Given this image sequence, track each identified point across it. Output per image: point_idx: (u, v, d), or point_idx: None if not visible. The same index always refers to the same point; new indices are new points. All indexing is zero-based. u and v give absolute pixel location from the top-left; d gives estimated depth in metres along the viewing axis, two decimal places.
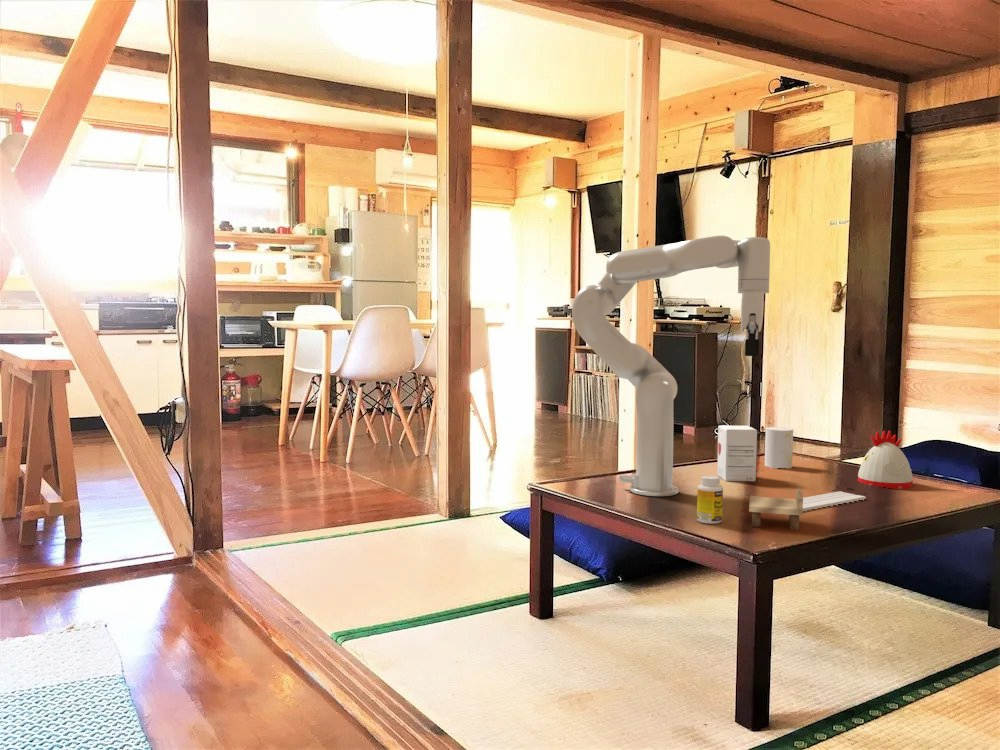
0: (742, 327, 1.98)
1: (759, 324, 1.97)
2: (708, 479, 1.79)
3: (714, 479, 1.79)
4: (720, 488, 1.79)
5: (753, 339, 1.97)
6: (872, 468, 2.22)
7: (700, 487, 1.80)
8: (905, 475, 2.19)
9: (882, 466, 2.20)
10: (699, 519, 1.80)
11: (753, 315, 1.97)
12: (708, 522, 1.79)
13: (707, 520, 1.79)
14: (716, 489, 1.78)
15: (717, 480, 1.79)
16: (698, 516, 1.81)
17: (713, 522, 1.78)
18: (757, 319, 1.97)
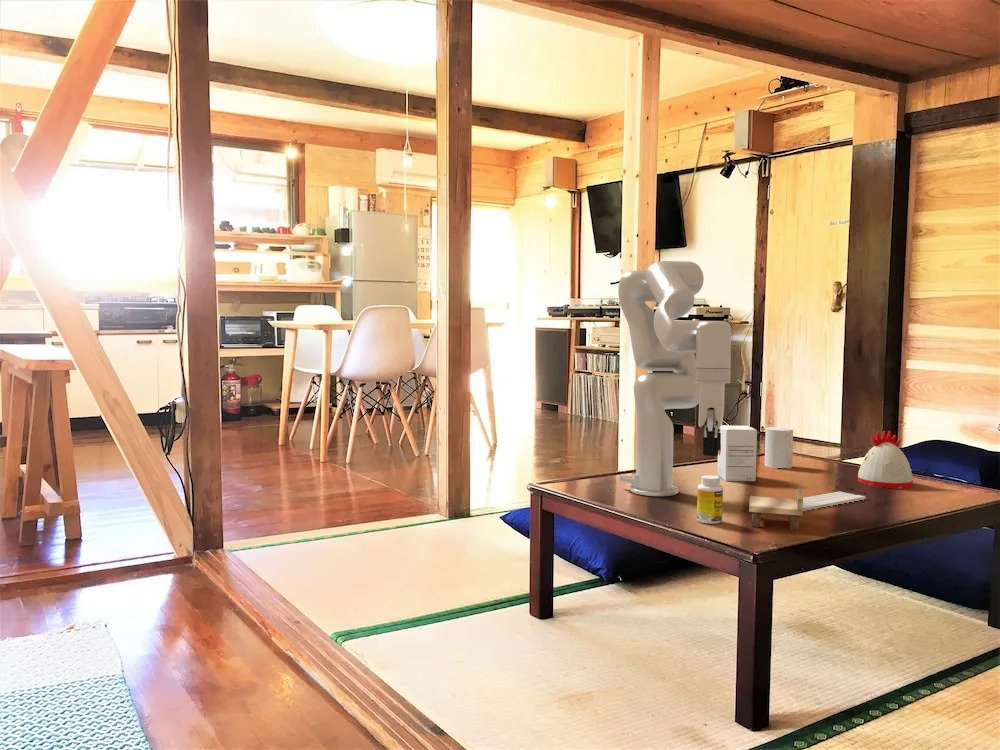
0: (700, 423, 1.75)
1: (719, 420, 1.74)
2: (708, 479, 1.79)
3: (714, 479, 1.79)
4: (720, 488, 1.79)
5: (712, 437, 1.74)
6: (872, 468, 2.22)
7: (700, 487, 1.80)
8: (905, 475, 2.19)
9: (882, 466, 2.20)
10: (699, 519, 1.80)
11: (712, 410, 1.74)
12: (708, 522, 1.79)
13: (707, 520, 1.79)
14: (716, 489, 1.78)
15: (717, 480, 1.79)
16: (698, 516, 1.81)
17: (713, 522, 1.78)
18: (716, 414, 1.74)
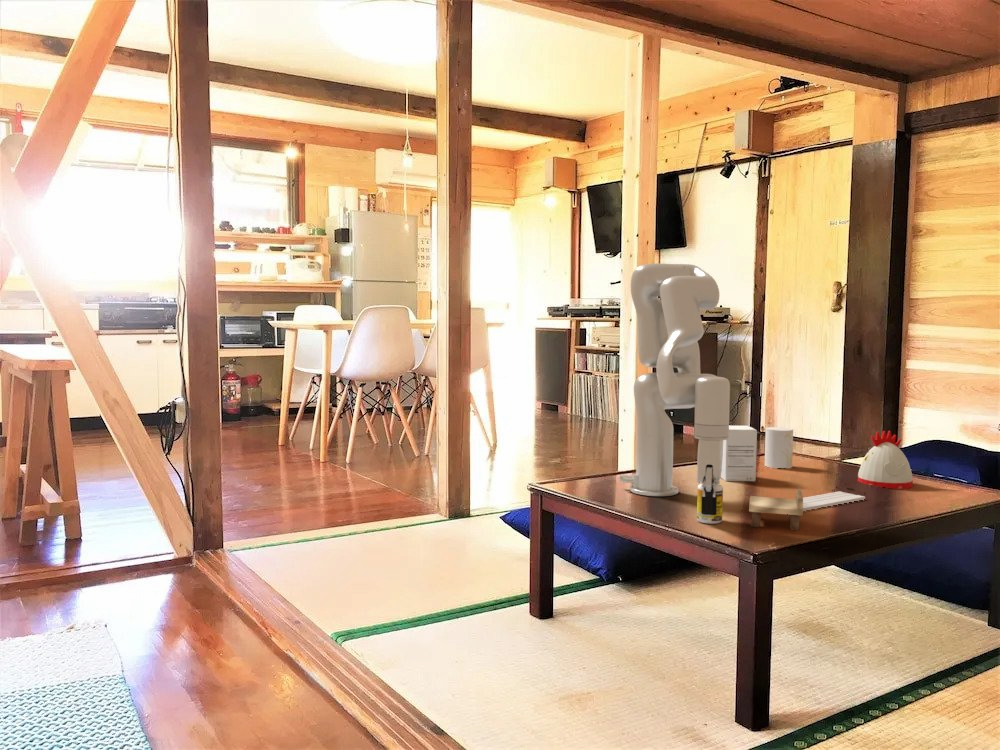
0: (698, 479, 1.77)
1: (717, 477, 1.75)
2: None
3: None
4: (720, 488, 1.79)
5: (710, 497, 1.77)
6: (872, 469, 2.22)
7: (700, 487, 1.80)
8: (905, 475, 2.19)
9: (882, 466, 2.20)
10: (699, 519, 1.80)
11: (710, 470, 1.75)
12: (708, 522, 1.79)
13: (707, 520, 1.79)
14: (716, 489, 1.78)
15: None
16: (698, 516, 1.81)
17: (713, 522, 1.78)
18: (714, 471, 1.75)
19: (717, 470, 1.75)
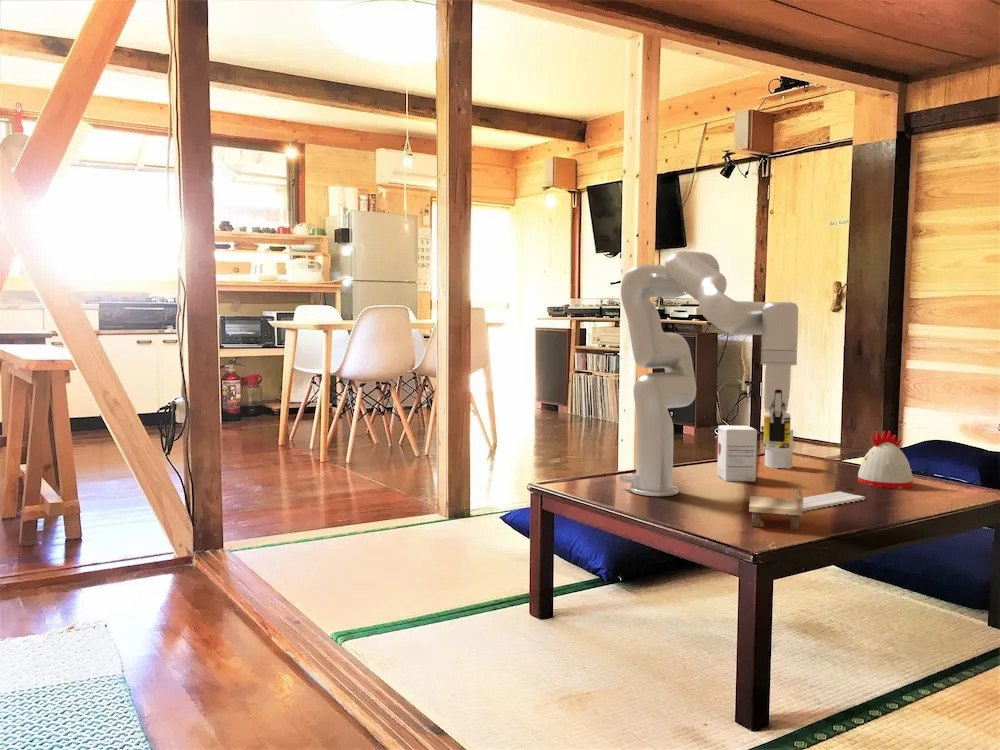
0: (766, 405, 1.74)
1: (786, 402, 1.73)
2: None
3: (782, 406, 1.76)
4: (788, 415, 1.76)
5: (779, 423, 1.74)
6: (872, 469, 2.22)
7: (767, 414, 1.77)
8: (905, 475, 2.19)
9: (882, 466, 2.20)
10: (766, 447, 1.78)
11: (779, 395, 1.73)
12: (775, 449, 1.76)
13: (775, 447, 1.76)
14: (784, 416, 1.76)
15: None
16: (765, 443, 1.78)
17: (781, 449, 1.76)
18: (784, 396, 1.73)
19: (786, 395, 1.73)
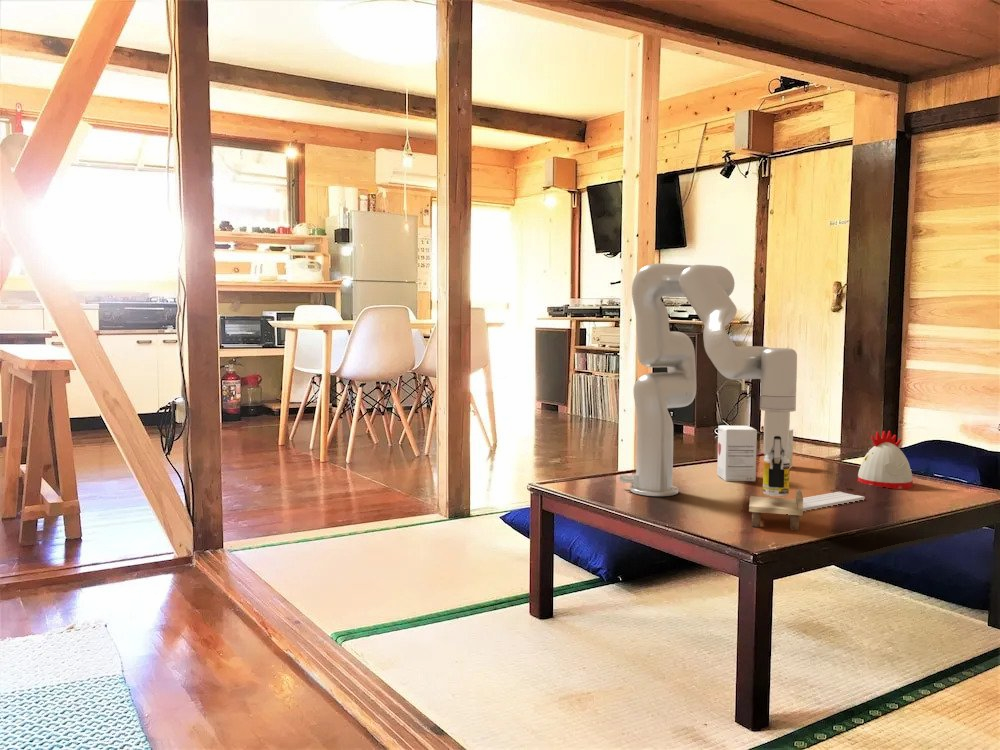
0: (765, 451, 1.75)
1: (785, 448, 1.73)
2: None
3: None
4: (787, 460, 1.77)
5: (778, 469, 1.75)
6: (872, 468, 2.22)
7: (767, 459, 1.78)
8: (905, 475, 2.19)
9: (882, 466, 2.20)
10: (766, 492, 1.78)
11: (778, 441, 1.73)
12: (775, 495, 1.77)
13: (774, 493, 1.77)
14: (784, 461, 1.76)
15: None
16: (764, 489, 1.79)
17: (780, 495, 1.76)
18: (783, 443, 1.73)
19: (785, 442, 1.73)
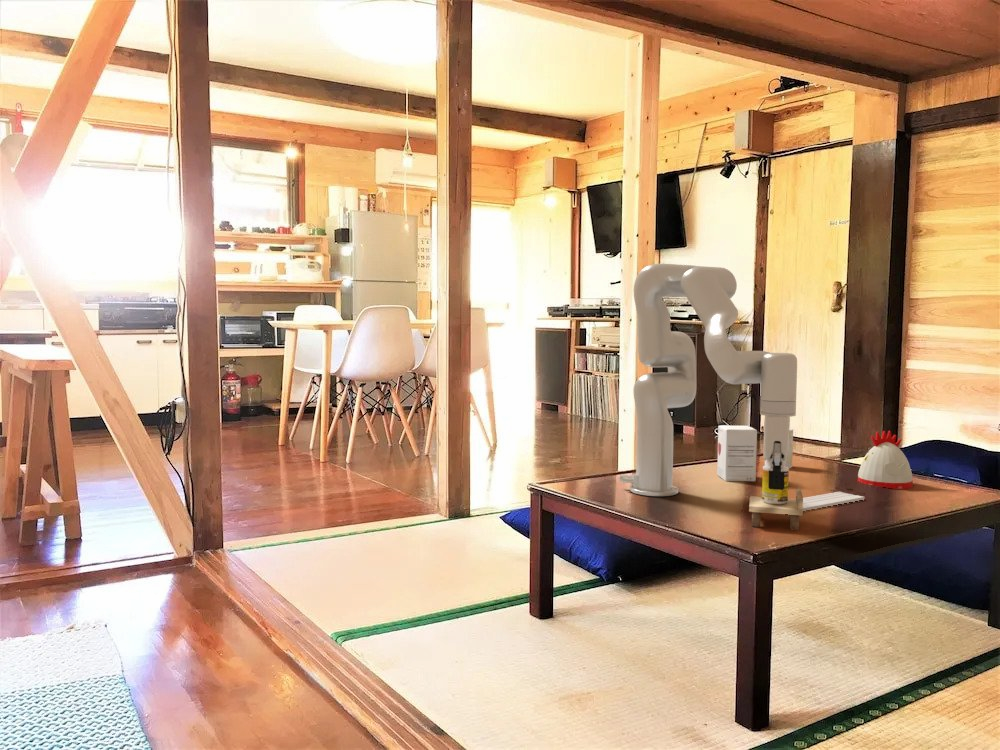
0: (765, 456, 1.75)
1: (785, 453, 1.73)
2: None
3: None
4: (786, 468, 1.77)
5: (778, 471, 1.73)
6: (872, 468, 2.22)
7: (766, 467, 1.78)
8: (905, 475, 2.19)
9: (882, 466, 2.20)
10: (765, 500, 1.79)
11: (778, 444, 1.73)
12: (774, 503, 1.77)
13: (773, 501, 1.77)
14: (783, 469, 1.77)
15: None
16: (763, 496, 1.79)
17: (779, 503, 1.77)
18: (783, 448, 1.73)
19: (785, 447, 1.73)
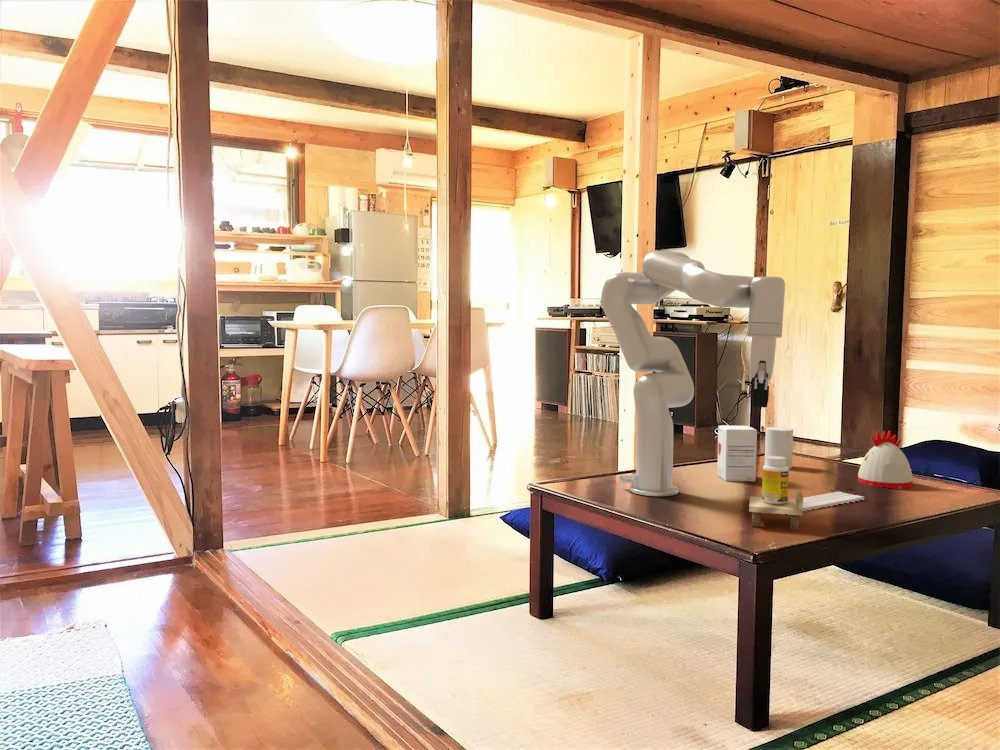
0: (750, 375, 1.81)
1: (769, 373, 1.80)
2: (774, 459, 1.77)
3: (780, 459, 1.77)
4: (786, 468, 1.77)
5: (762, 389, 1.80)
6: (872, 469, 2.22)
7: (766, 467, 1.78)
8: (905, 475, 2.19)
9: (882, 466, 2.20)
10: (765, 500, 1.79)
11: (763, 363, 1.80)
12: (774, 503, 1.77)
13: (773, 501, 1.77)
14: (783, 469, 1.77)
15: (783, 460, 1.77)
16: (763, 496, 1.79)
17: (779, 503, 1.77)
18: (767, 367, 1.80)
19: (770, 366, 1.80)
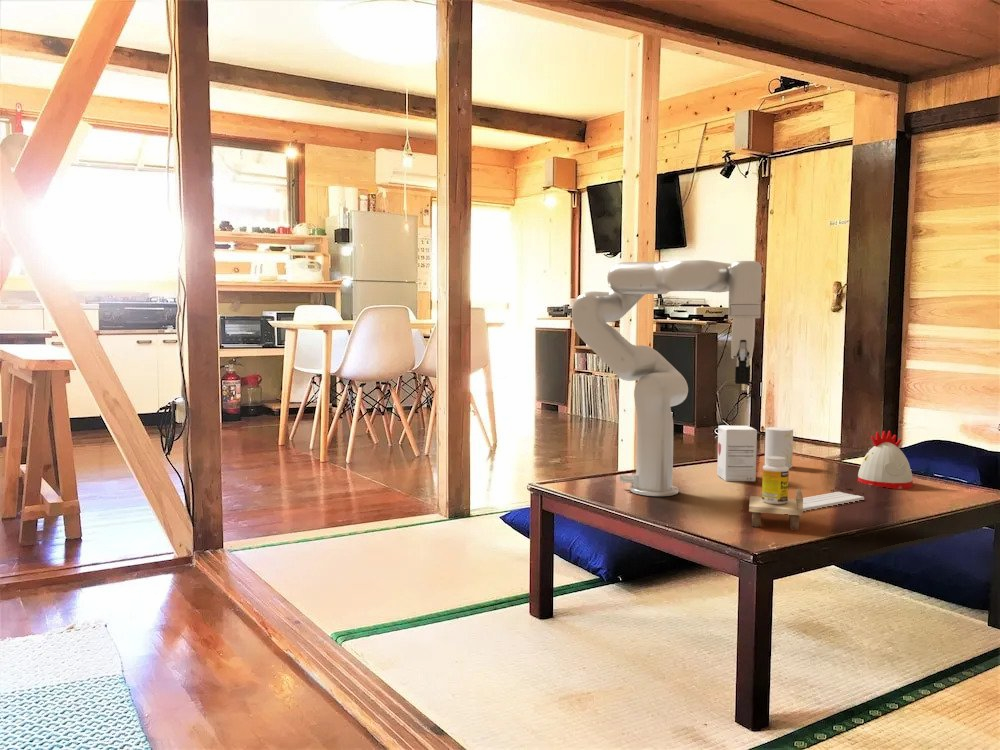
0: (732, 354, 1.92)
1: (750, 351, 1.91)
2: (774, 459, 1.77)
3: (780, 459, 1.77)
4: (786, 468, 1.77)
5: (744, 366, 1.90)
6: (872, 468, 2.22)
7: (766, 467, 1.78)
8: (905, 475, 2.19)
9: (882, 466, 2.20)
10: (765, 500, 1.79)
11: (744, 342, 1.90)
12: (774, 503, 1.77)
13: (773, 501, 1.77)
14: (783, 469, 1.77)
15: (783, 460, 1.77)
16: (763, 496, 1.79)
17: (779, 503, 1.77)
18: (748, 346, 1.91)
19: (750, 345, 1.91)
